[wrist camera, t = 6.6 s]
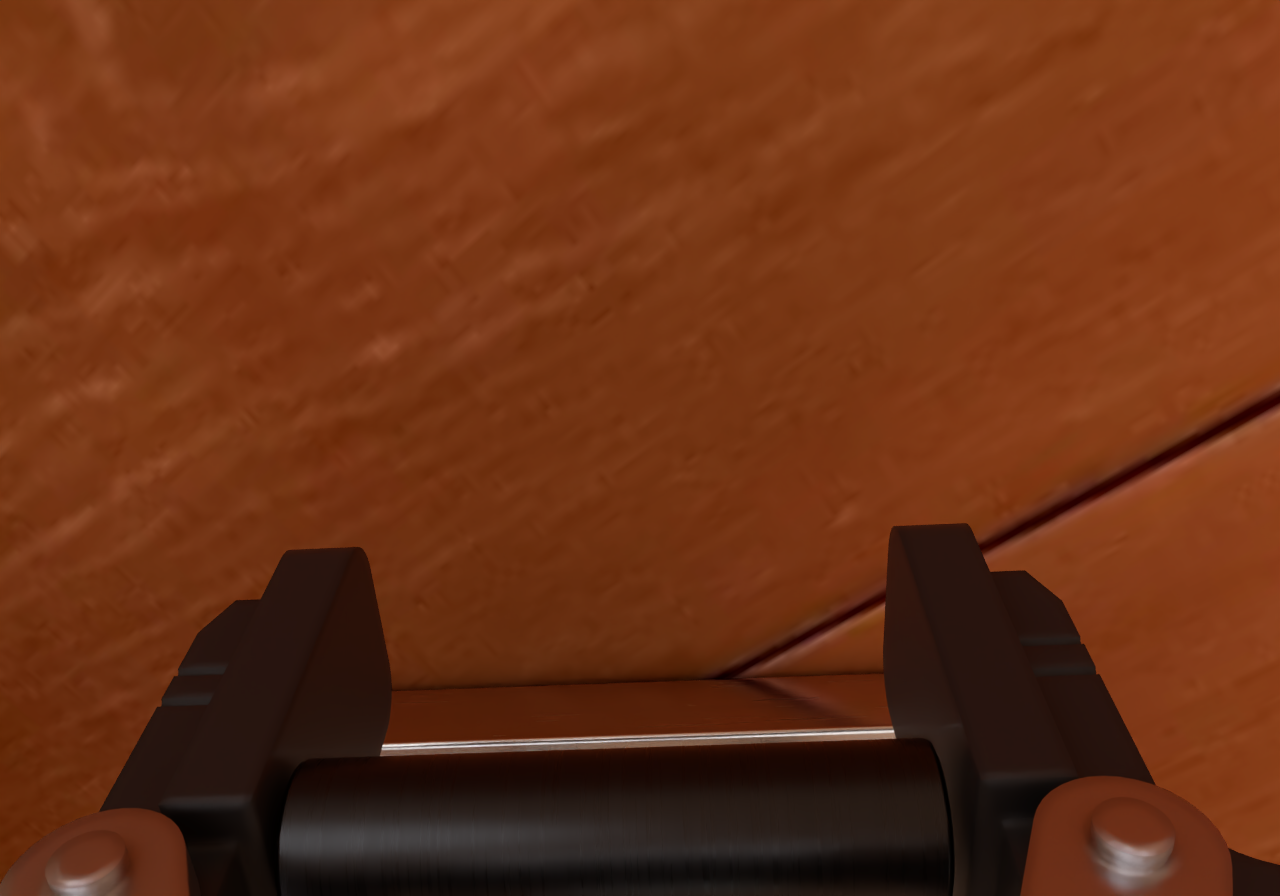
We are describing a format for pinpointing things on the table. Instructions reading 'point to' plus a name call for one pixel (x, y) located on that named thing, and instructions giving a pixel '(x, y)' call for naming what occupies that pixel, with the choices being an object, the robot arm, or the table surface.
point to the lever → (623, 822)
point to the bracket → (638, 714)
